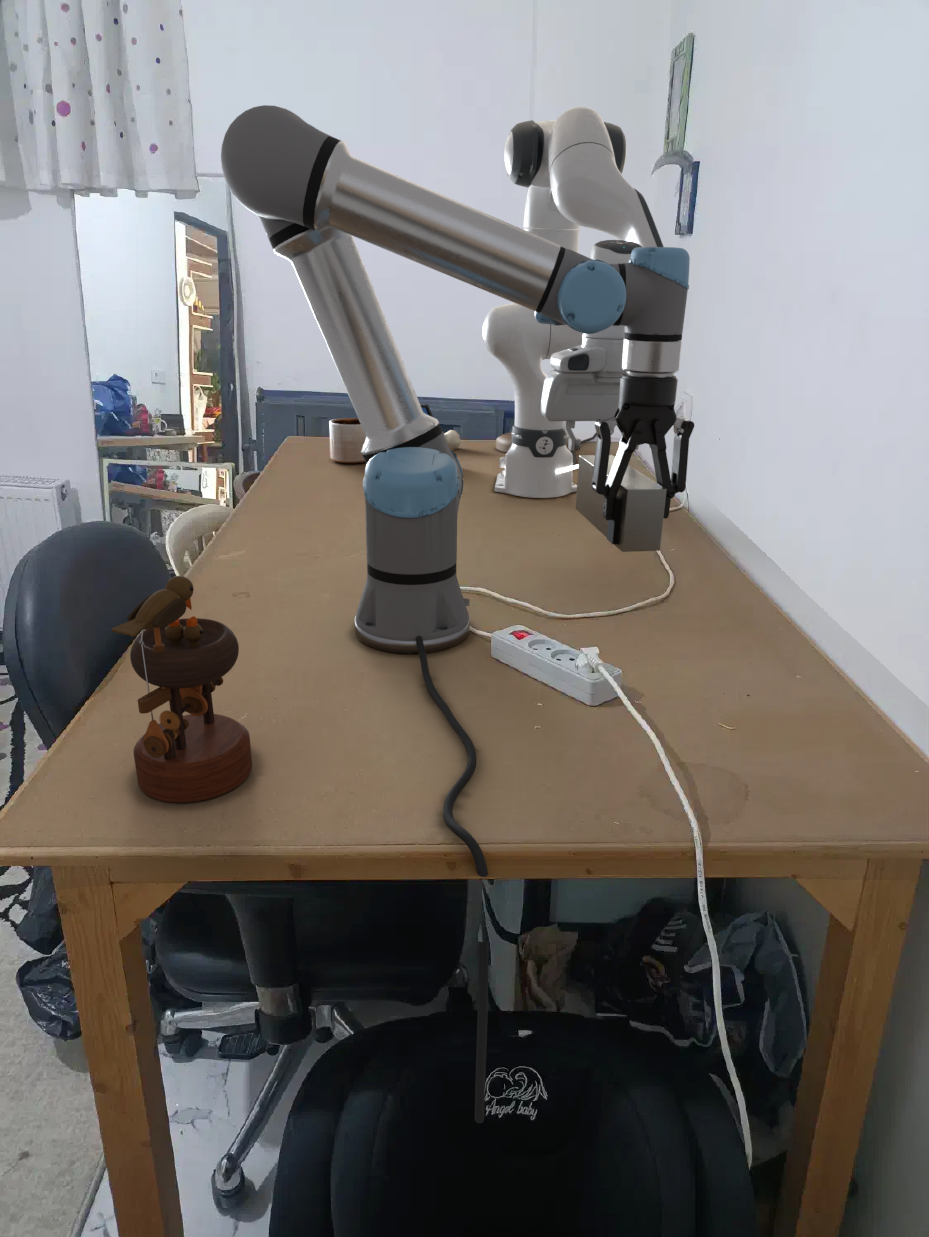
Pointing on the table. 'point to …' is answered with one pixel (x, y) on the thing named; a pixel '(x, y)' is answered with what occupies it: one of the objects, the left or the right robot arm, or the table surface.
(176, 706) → the music box
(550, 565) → the table surface
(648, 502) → the bar
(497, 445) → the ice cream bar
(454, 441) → the dog toy
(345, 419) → the planter
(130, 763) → the table surface
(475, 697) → the table surface
